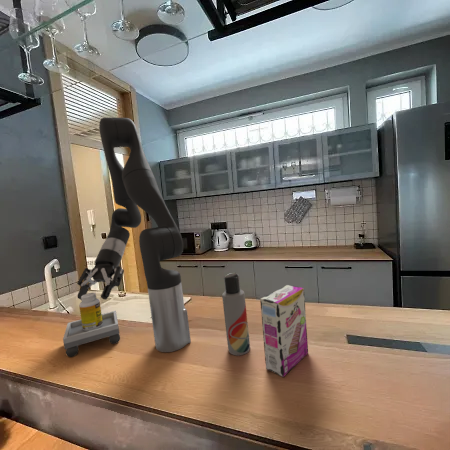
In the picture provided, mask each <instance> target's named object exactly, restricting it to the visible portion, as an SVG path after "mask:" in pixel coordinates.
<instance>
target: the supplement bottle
mask: <svg viewBox="0 0 450 450" xmlns="http://www.w3.org/2000/svg"><path fill="white" fill-rule="evenodd" d="M78 306H79V314H80V320H81V321H82V327H83V330H84V331H90V330H94V329H98V328H99V327H101V326H102V324H103V321H102V314H103V313H102V307H101V301H100V298H97V294H96V292H87V294H85V295H83V296H81V302H80V303H79V304H78Z"/></svg>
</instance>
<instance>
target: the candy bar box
mask: <svg viewBox="0 0 450 450" xmlns="http://www.w3.org/2000/svg"><path fill="white" fill-rule="evenodd" d="M259 300H260V313H261V324H262V325H261V326H262V335H263V337H262V338H263V347H264V348H263V350H264V360H265V361H264V363H265V369H266V370H268V371H270V372H272V373H274V374H276V375H277V376H280V377H283V378H285V376H286V375H287V374H288V373H289V372H290V371H291V370H292V369H293V368H294V367H296V365H297V364H298V363H299V362H301V361H302V360H303V358H304V357H306V356H307V354H309V345H308V332H307V331H308V330H307V329H308V328H307V318H306V317H307V316H306V315H307V314H306V312H307V311H306V301H305V300H306V299H305V288H304V287H299V286H295V285H289V284H286V285H285V286H283V287H281V288H278V289H277V290H275V291H274V292H271V293H269V294H267V295H265V296H263V297H261V298H260V299H259Z"/></svg>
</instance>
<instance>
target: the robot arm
mask: <svg viewBox="0 0 450 450" xmlns="http://www.w3.org/2000/svg"><path fill="white" fill-rule="evenodd" d="M98 128H99V137H100V139H101V140H100V141H101V145H102V149H103V152H104V156H105V159H106V160H105V161H106V164H107V168H108V171H109V175H110V179H111V185H112V192H113V199H114V202H115V204H116V205H118V206H120V207H123V208H118V207H117V208H116V209H115V210H113V212H112V213H111V223H110V228H109V232H108V234H107V237H106V239H105V240H104V242H103V243H102V245H101V247H100V250H98V251H99V252H98V254H97V256H96V259H95V260H94V267H93V268H92V269H91V268H88V267H85V268H84V269H83V272H82V273H81V275H80V278H79V279H78V281H77V285H79V286H80V288H79V291H78V293H77V295H76V296H77V299H79V300H81V296H83V295H85V294H88V291H89V288H91V287H92V286H93V285H94V286H95V285H96V284H97V283H101V282H102V283H105V285H104V287H103V290H102V292H101V295H100V298H101V299H103V300H108V299H109V297H110V294H111V292H112V291H113V290H112V289H114V288H115V287H119V286H120V285H121V282H122V278H123V275H124V272H125V269H123V267H121V266H120V263H121V262H122V259H123V257H124V253H125V250H126V246H127V244H128V242H129V239H130V236H131V233H130V231H129V230H128V229H127V228H133V229H134V228H138V227H139V226H140V224H141V223H142V214H141V211H140V209H141V210H143V211H144V212H145V213H146V214H147V215H149V216H150V217H151V219H152V220H154V222H155V224H156V225H157V227H151V228H150V227H149V228H145V229H142V230H141V232H140V233H139V238H138V242H139V243H138V244H139V250H140V251H139V252H140V255H141V260H142V264H143V271H144V272H143V274H144V276H145V277H144V278H145V282H146V285H147V293H148V301H149V307H150V308H149V310H150V316H151V322H152V330H153V338H154V344H155V345H154V346H155V349H156V351H159V352H161V353H171V352H176V351H178V350H180V349H183V348H184V347H185V346H186V345H187V344H191V340H192V339H191V332H190V324H189V316H188V310H187V308H186V307H185V301H184V300H185V299H184V294H183V284H182V276H181V273H180V271H178V270H176V269H166V268H163V267H162V266H161V261H167V260H170V259H174V258H177V257H180V256H181V255H182V253H183V251H184V240H183V238H182V237H183V236H182V234H181V232H180V229H179V227H178V225H177V224H176V222H175V220H174V218H173V216H172V215H171V213H170V210H169V209H168V207H167V205H166V203H165V199H164V197H163V196H162V193H161V191H160V188H159V186H158V182H157V179H156V177H155V175H154V173H153V170H152V169H151V166H150V164H149V162H148V159H147V157H146V154H145V151H144V149H143V145H142V142H141V139H140V135H139V132H138V128H137V126H136V124H135V123H134V121H133V120H132V119H131V118H128V117H102V118H100V120H99V127H98ZM115 148H129V149H130V152H129V155H128V158H127V160H126V162H125V165H124V166H123V165H122V164H121V163H120V161H119V160H118V158H117V156H116V153H115ZM139 208H140V209H139Z"/></svg>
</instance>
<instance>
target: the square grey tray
mask: <svg viewBox="0 0 450 450" xmlns="http://www.w3.org/2000/svg"><path fill="white" fill-rule="evenodd" d="M101 314H102V321H103V324H102V326H101V327H99V328H98V329H94V330H90V331H84V330H83V327H82V321H81V319H78V320H74V321H71V322H67V325H66V327H65V331H64V334H63V338H62V340H63V348H64V350H66V351H65V356H66V357H68V358H73V357H76V356H77V354H79V353H78V352H79V348H80V347H79V346H81V345H84V344H87V343H91V342H94V341H98V340H100V339H104V338H108V341H109V343H110V344H111V345H115V344H118V343H119V342H120V340H121V334H120V328H119V327H120V326H119V322H118V314H117V311H116V310H113V311H109V312H106V313H101Z"/></svg>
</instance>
